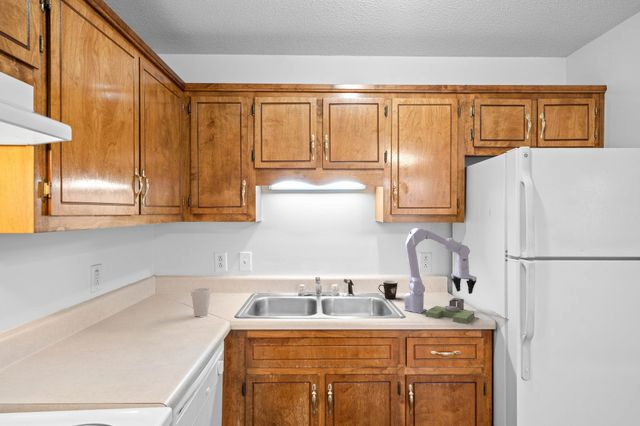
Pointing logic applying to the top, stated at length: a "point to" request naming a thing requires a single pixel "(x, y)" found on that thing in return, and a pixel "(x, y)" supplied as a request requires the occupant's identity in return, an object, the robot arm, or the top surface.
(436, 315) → the notched green slab
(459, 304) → the chute
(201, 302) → the foam cup
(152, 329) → the top surface
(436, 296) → the top surface
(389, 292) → the coffee mug
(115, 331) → the top surface
